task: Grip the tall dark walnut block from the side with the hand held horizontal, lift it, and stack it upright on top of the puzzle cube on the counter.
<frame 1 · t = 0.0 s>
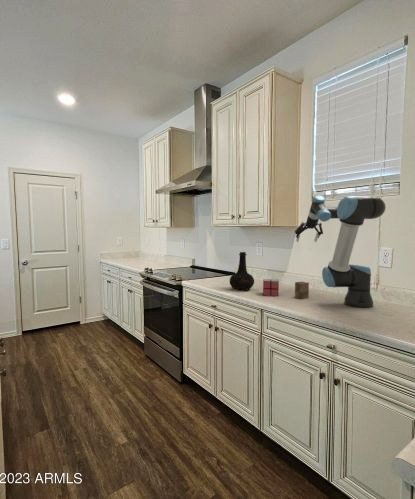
hand: (306, 241, 220), 36 cm above the counter, tool tilted 35°, fingers open, 13 cm apart
dark bulbous vase: (241, 289, 220), on the counter
walnut block: (301, 297, 193), on the counter
puzzle cube: (270, 294, 203), on the counter
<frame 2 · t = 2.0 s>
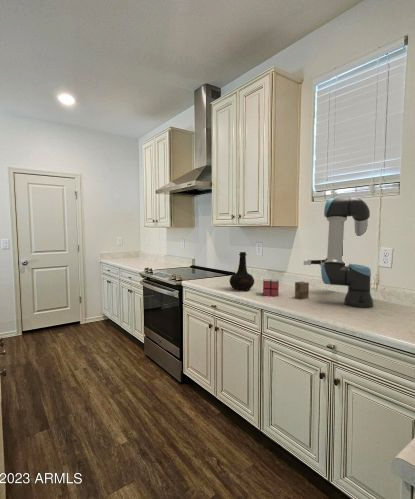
hand: (312, 264, 197), 21 cm above the counter, tool horizontal, fingers open, 13 cm apart
nothing on the counter moved.
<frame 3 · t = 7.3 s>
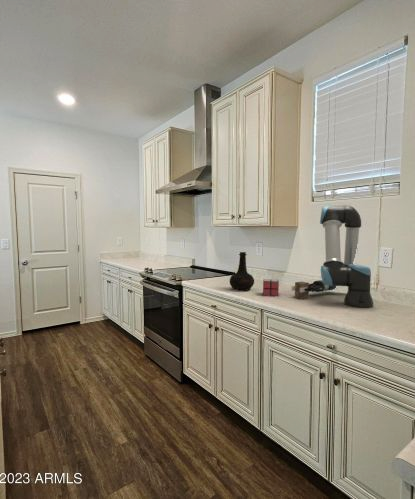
hand: (296, 289, 190), 6 cm above the counter, tool horizontal, fingers closed on walnut block, 6 cm apart
walnut block: (301, 297, 193), on the counter, touching gripper
everything else where it was.
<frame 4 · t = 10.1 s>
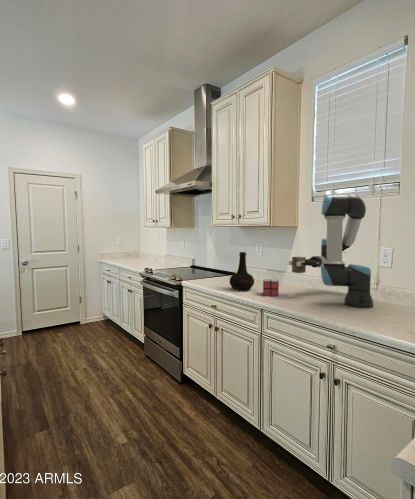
hand: (293, 263, 191), 22 cm above the counter, tool horizontal, fingers closed on walnut block, 6 cm apart
walnut block: (298, 272, 194), point 16 cm above the counter, touching gripper
everything else where it was.
when the fingers open (17 cm above the counter, at t = 12.9 s): walnut block drops 2 cm, resting on puzzle cube.
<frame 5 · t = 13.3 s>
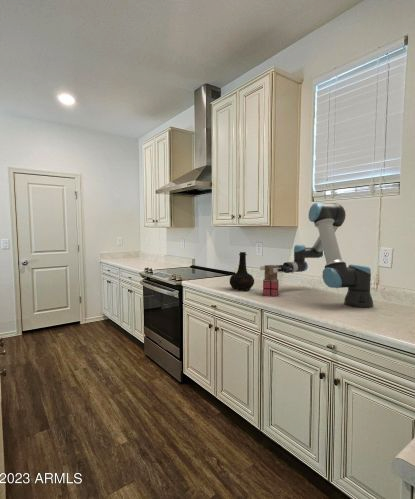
hand: (266, 269, 200), 17 cm above the counter, tool horizontal, fingers open, 12 cm apart
walnut block: (270, 280, 202), point 10 cm above the counter, touching puzzle cube
puzzle cube: (270, 295, 203), on the counter, touching walnut block
everything else where it was.
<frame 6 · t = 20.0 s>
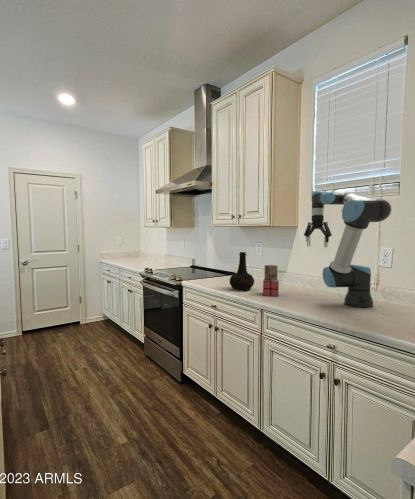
hand: (316, 246, 198), 33 cm above the counter, tool pointing down, fingers open, 13 cm apart
nothing on the counter moved.
at the end: walnut block 0.2 cm from the puzzle cube (horizontally); walnut block point 9.9 cm above the counter; walnut block tilted 0° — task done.
